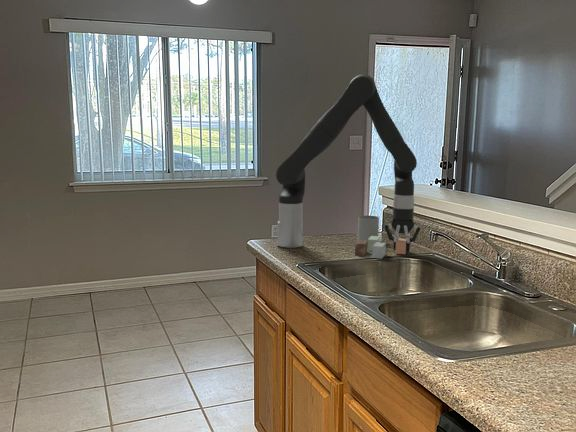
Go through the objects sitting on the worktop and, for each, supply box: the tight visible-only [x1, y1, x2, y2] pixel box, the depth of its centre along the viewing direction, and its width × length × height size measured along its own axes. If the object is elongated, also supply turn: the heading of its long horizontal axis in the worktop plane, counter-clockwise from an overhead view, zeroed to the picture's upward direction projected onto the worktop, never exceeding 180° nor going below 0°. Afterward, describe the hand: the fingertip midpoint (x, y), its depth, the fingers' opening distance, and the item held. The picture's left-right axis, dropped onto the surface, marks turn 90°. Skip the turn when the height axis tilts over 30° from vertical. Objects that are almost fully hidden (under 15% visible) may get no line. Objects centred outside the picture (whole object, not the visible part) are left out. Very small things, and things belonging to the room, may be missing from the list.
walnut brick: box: [354, 239, 368, 257], centre depth 208 cm, size 4×7×4 cm, turn 163°
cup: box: [357, 215, 380, 241], centre depth 230 cm, size 8×8×10 cm
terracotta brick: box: [394, 238, 407, 255], centre depth 210 cm, size 4×7×4 cm, turn 161°
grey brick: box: [371, 241, 387, 260], centre depth 204 cm, size 4×7×4 cm, turn 159°
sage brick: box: [367, 235, 381, 252], centre depth 215 cm, size 4×7×4 cm, turn 162°
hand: (401, 251), depth 210 cm, fingers closed on terracotta brick, 3 cm apart
